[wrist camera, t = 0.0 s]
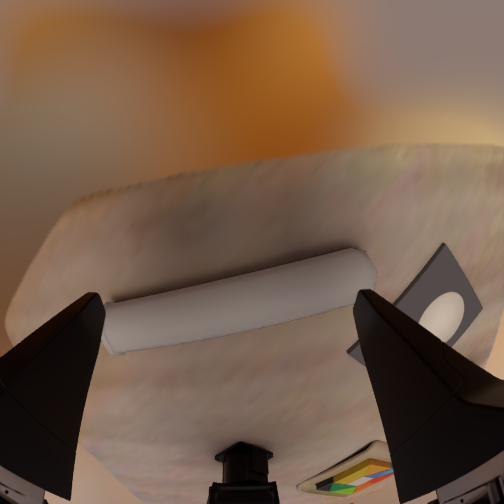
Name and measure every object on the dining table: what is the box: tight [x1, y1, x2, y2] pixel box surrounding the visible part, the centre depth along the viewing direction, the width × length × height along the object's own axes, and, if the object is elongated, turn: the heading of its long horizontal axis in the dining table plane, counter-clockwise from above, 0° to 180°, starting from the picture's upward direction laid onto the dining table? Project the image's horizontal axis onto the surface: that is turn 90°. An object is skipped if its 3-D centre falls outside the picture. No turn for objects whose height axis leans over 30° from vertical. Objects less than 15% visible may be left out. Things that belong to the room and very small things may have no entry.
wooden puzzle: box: [297, 440, 394, 498], centre depth 37 cm, size 18×19×4 cm
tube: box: [101, 248, 377, 355], centre depth 24 cm, size 5×5×25 cm
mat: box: [347, 243, 483, 366], centre depth 28 cm, size 16×14×1 cm
